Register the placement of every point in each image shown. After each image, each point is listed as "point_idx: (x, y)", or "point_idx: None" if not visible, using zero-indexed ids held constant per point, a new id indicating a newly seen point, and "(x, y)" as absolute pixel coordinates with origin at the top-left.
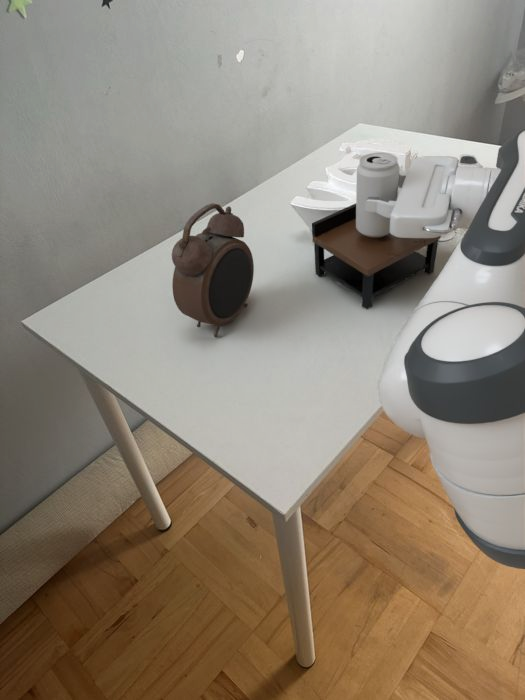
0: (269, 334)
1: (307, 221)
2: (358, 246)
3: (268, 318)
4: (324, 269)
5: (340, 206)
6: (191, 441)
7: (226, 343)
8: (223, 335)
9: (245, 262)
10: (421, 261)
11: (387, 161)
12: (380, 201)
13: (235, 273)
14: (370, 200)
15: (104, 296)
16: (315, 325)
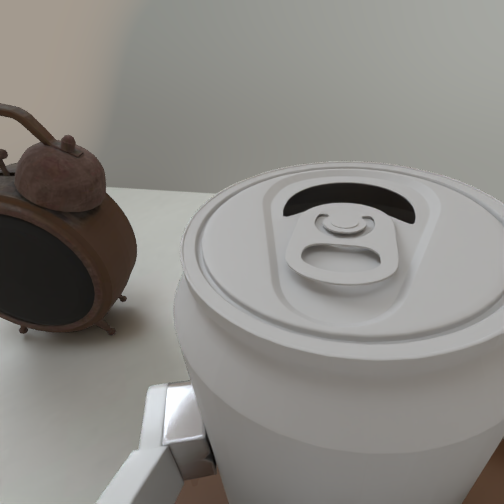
0: (21, 409)
1: None
2: (212, 479)
3: (76, 383)
4: None
5: None
6: None
7: (6, 353)
8: (30, 340)
9: (52, 260)
10: None
11: (331, 276)
12: (132, 473)
13: (12, 263)
14: (152, 403)
15: (127, 203)
16: (41, 496)
